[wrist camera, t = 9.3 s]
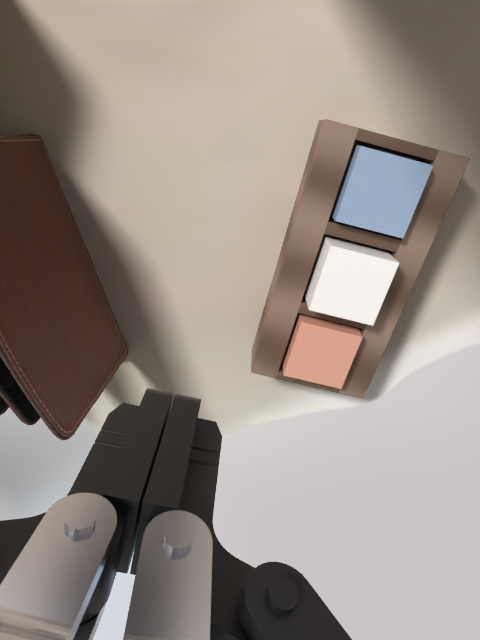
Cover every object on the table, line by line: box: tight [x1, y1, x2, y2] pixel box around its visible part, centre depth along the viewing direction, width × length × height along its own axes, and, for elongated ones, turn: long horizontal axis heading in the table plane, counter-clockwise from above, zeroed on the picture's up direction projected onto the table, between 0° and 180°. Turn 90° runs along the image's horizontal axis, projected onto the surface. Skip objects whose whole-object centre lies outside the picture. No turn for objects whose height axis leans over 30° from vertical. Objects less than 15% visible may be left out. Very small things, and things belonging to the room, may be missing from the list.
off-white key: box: [305, 236, 399, 326], centre depth 31 cm, size 5×5×3 cm
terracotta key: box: [282, 313, 363, 389], centre depth 35 cm, size 5×5×3 cm
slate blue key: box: [330, 145, 433, 238], centre depth 30 cm, size 5×5×3 cm
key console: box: [251, 119, 469, 398], centre depth 34 cm, size 20×10×4 cm, turn 166°
